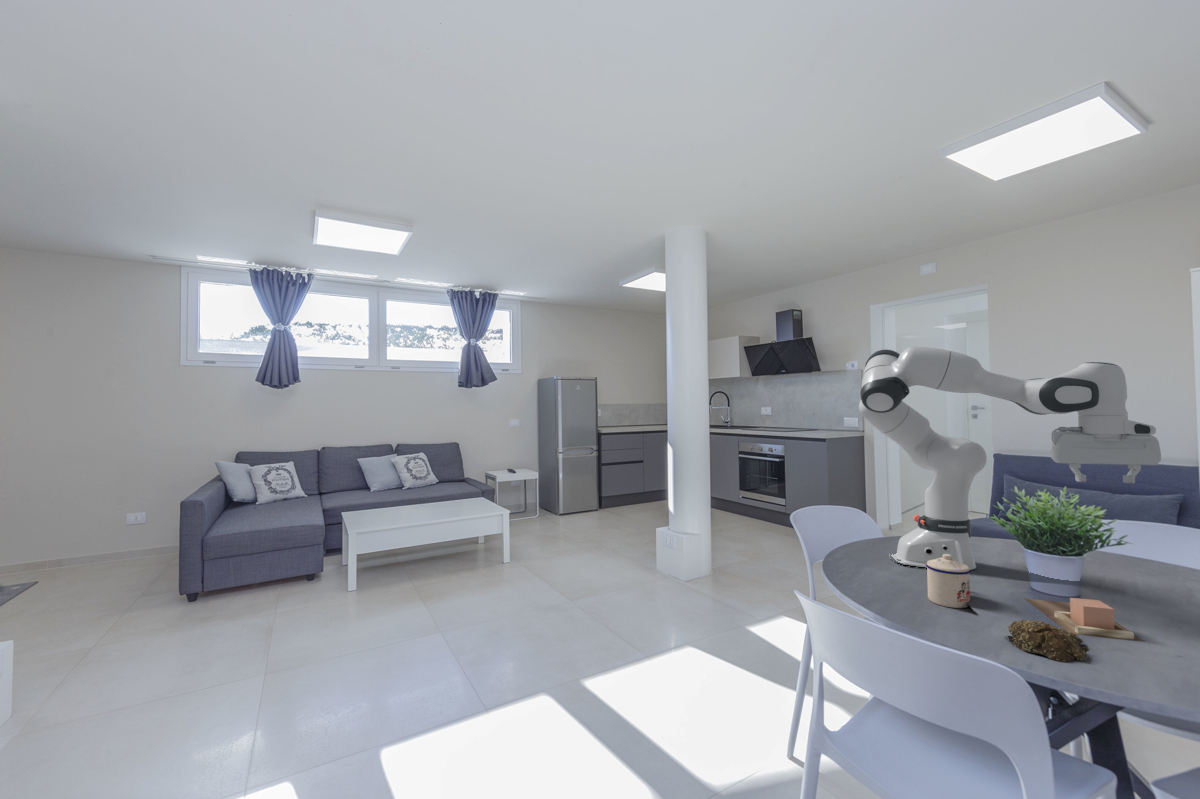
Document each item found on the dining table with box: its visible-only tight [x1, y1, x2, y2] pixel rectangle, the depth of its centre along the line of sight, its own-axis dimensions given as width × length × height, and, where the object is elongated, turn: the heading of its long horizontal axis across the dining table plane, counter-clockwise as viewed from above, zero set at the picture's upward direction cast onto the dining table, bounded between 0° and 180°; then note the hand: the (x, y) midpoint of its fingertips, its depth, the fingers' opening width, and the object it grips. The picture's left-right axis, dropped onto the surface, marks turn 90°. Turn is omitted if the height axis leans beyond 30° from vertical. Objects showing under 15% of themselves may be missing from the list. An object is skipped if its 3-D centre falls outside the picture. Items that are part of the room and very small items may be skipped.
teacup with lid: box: [926, 554, 971, 609], centre depth 126 cm, size 12×9×12 cm
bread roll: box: [1007, 619, 1088, 663], centre depth 101 cm, size 13×12×5 cm
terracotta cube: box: [1069, 597, 1115, 630], centre depth 106 cm, size 5×5×5 cm
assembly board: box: [1024, 598, 1146, 643], centre depth 111 cm, size 12×20×3 cm, turn 161°
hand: (1104, 482), depth 126 cm, fingers open, 8 cm apart
